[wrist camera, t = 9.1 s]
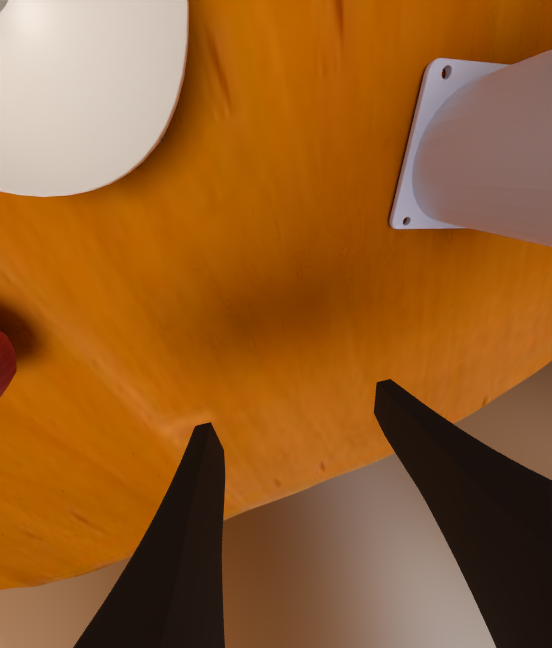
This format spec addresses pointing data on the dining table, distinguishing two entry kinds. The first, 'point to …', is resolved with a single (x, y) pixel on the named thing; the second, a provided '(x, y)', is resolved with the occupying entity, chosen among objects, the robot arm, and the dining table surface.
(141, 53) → the lid
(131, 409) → the dining table surface
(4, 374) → the onion
